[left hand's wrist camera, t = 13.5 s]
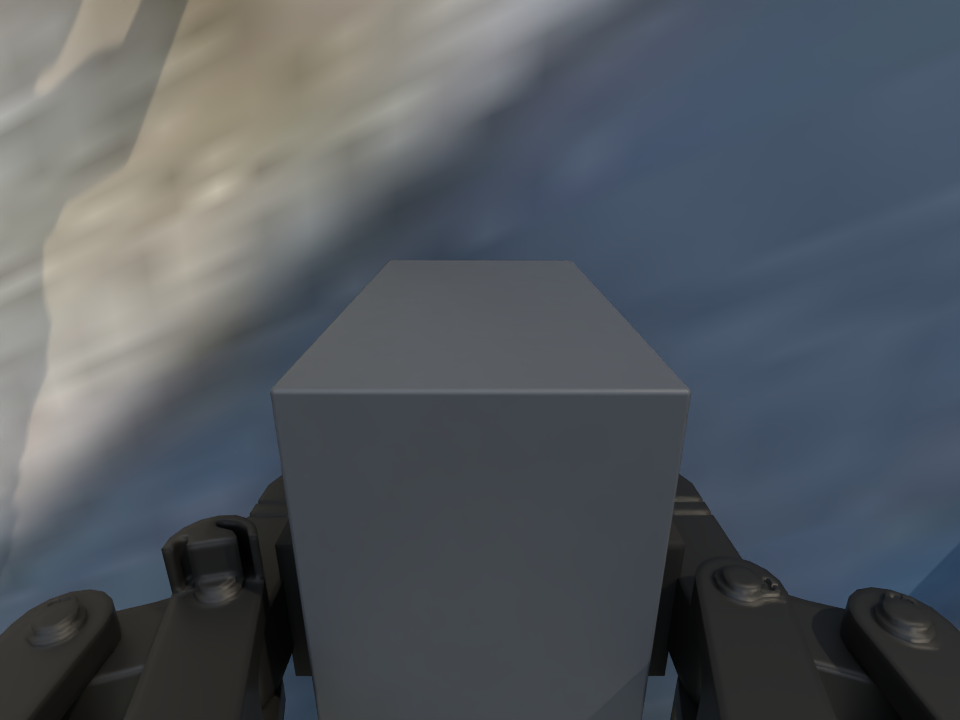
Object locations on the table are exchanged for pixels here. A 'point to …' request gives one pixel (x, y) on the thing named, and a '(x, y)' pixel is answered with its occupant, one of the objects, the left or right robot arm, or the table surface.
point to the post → (480, 496)
